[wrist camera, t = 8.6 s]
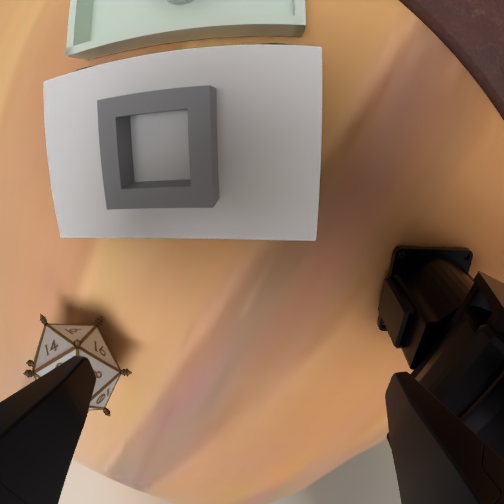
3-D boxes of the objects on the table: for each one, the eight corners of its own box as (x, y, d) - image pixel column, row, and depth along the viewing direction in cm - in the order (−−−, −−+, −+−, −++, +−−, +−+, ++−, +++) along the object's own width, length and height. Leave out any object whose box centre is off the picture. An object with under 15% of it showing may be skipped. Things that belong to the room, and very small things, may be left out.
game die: (94, 302, 27) (5, 293, 18) (161, 332, 24) (60, 338, 15) (82, 384, 26) (0, 396, 17) (143, 425, 23) (55, 458, 14)
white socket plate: (311, 56, 14) (327, 32, 9) (307, 219, 18) (319, 260, 13) (81, 78, 15) (26, 75, 10) (93, 219, 19) (47, 253, 14)
